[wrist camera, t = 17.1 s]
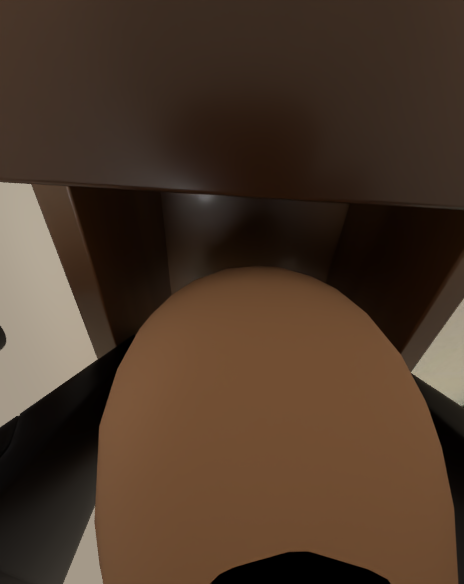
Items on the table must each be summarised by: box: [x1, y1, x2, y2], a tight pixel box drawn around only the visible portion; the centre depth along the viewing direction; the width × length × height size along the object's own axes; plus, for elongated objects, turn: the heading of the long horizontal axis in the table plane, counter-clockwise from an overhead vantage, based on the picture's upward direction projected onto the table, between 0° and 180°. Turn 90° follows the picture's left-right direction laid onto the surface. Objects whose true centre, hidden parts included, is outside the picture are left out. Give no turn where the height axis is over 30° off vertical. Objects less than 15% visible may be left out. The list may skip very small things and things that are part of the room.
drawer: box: [31, 184, 464, 373], centre depth 11 cm, size 19×12×7 cm, turn 177°
